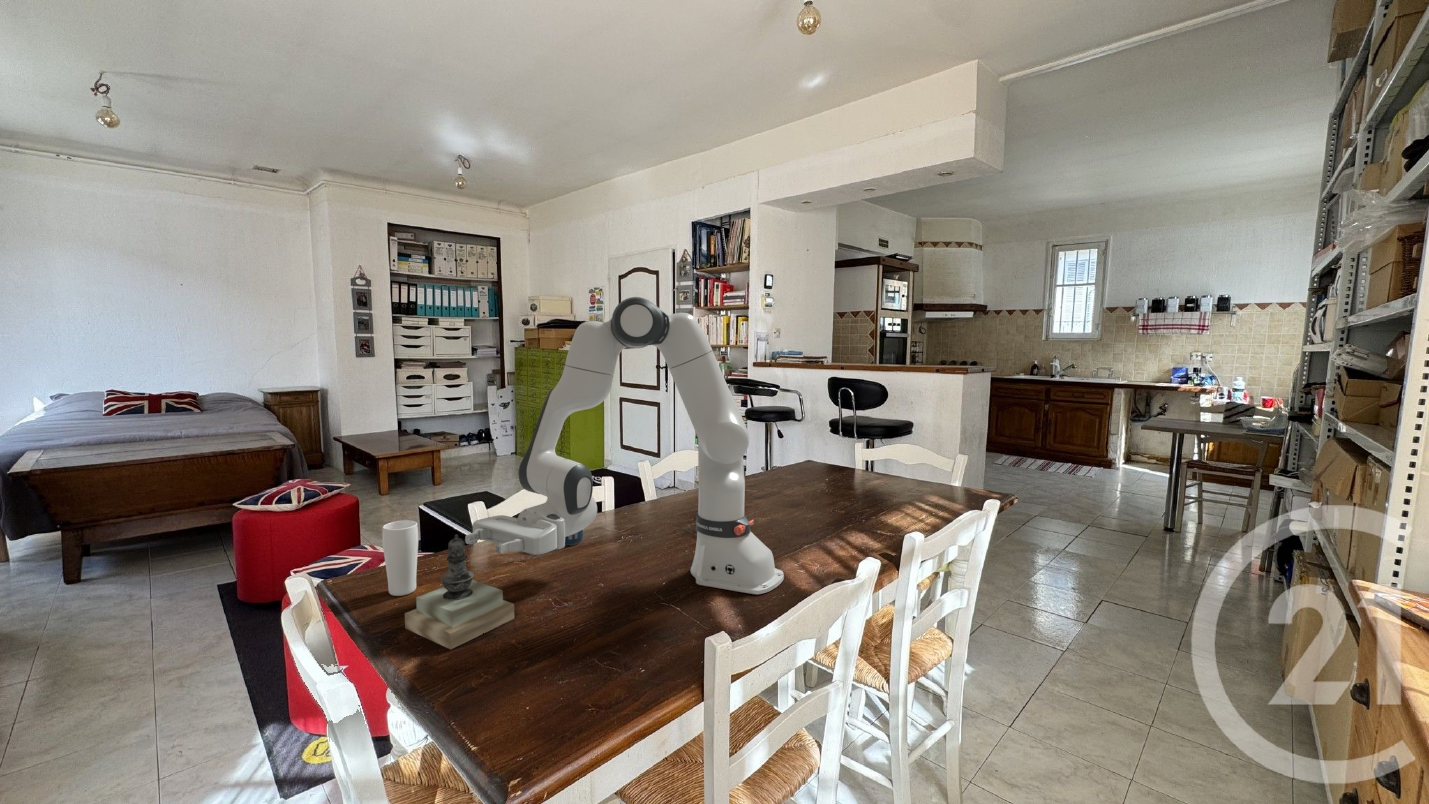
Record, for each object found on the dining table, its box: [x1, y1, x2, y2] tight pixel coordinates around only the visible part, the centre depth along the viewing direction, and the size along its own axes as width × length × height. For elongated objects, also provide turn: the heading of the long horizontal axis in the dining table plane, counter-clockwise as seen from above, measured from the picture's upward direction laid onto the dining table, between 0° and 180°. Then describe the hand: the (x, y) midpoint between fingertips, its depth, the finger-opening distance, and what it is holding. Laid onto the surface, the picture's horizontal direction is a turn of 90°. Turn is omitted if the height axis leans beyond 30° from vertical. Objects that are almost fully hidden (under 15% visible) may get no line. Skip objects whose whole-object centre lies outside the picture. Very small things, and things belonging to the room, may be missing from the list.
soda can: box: [565, 529, 584, 546], centre depth 159 cm, size 7×7×12 cm
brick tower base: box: [404, 579, 515, 650], centre depth 113 cm, size 14×14×6 cm
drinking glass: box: [382, 519, 419, 597], centre depth 126 cm, size 7×7×15 cm
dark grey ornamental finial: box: [440, 534, 475, 600], centre depth 112 cm, size 6×6×12 cm
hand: (482, 544), depth 116 cm, fingers open, 8 cm apart
